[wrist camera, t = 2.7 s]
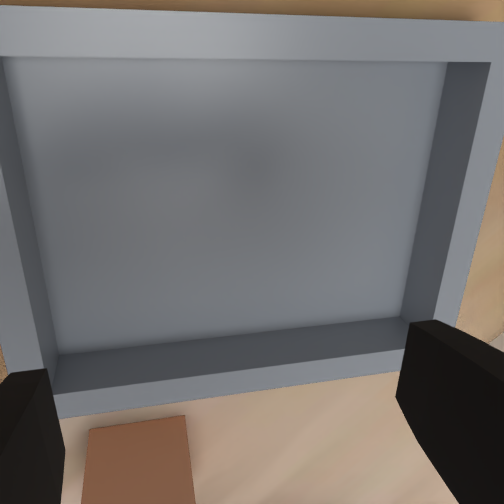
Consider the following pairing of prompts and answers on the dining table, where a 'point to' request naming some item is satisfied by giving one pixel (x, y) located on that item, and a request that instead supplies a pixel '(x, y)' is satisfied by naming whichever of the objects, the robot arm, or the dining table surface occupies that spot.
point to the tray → (234, 195)
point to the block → (139, 464)
